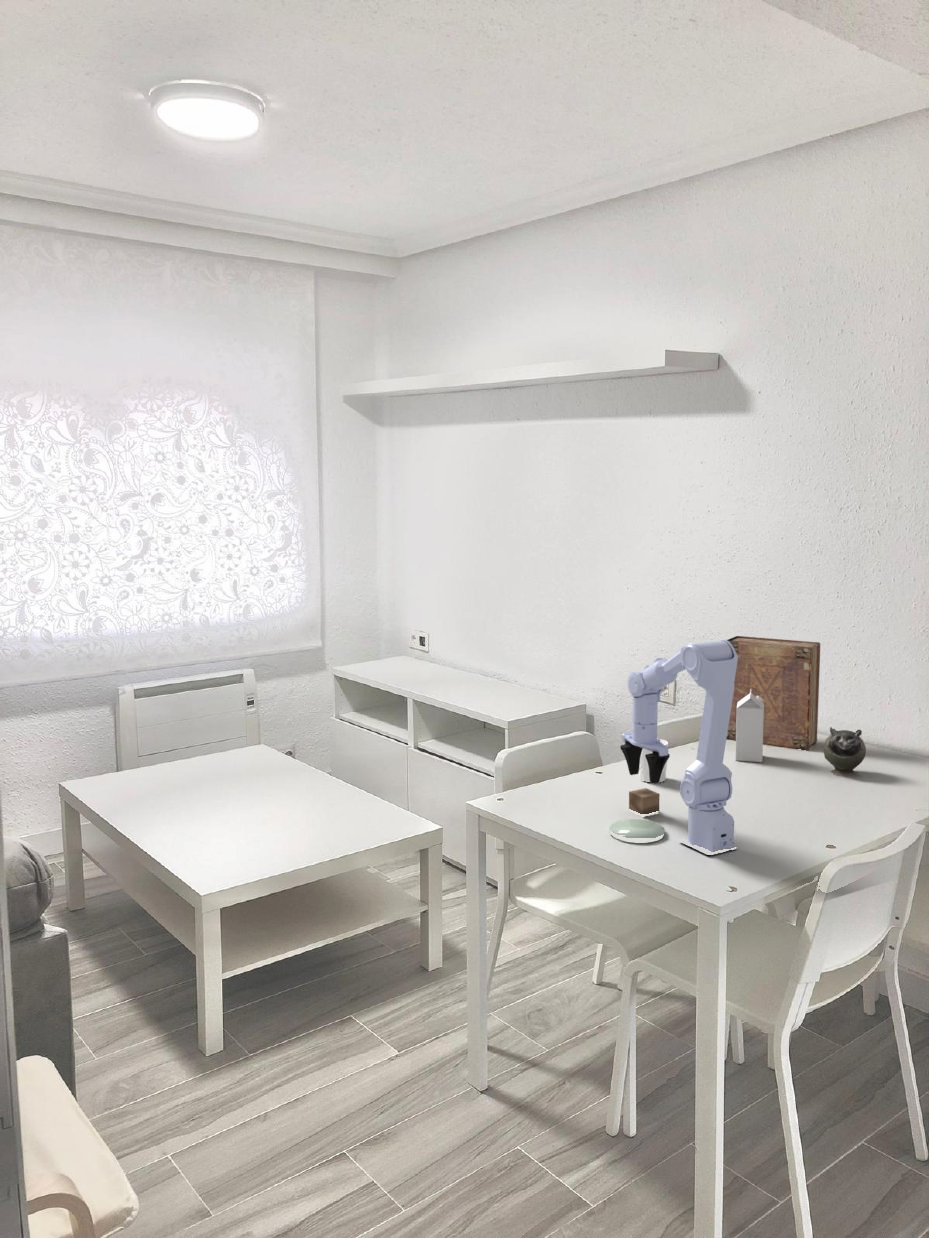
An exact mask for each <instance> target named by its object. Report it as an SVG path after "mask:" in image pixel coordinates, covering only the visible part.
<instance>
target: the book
mask: <svg viewBox="0 0 929 1238" xmlns="http://www.w3.org/2000/svg"><path fill="white" fill-rule="evenodd" d="M726 640H727V641H729V642H730V643H731V644H732V646H733V647H734V649H735V651H736V653H737V655H738V661H737V668H736V674H735V681H734V693H733V700H732V706H731V713H730V719H729V726H728V732H727V738H726V740H733V741H736V718H737V703H738V702H739V701H740V700H741V699H743V698H744V697H745V696H747V695H748V694H749V693H750V689H751V693H752V694H753V695H754V696H755V697H756V696H759V697H761V698H762V699H763V702H762V703H763V704H764V720H763V746H765V745H766V746H772V747H777V748H778V747H780V748H784V749H793V750H798V749H801V750H800V751H804V750H806V752H809V750H810V746H812V745H814V744H815V745H816V744H817V743H818V723H819V701H820V700H819V699H820V696H819V694H820V692H819V691H820V669H821V667H820V666H821V643H820V642H818V641H807V640H793V639H782V638H781V639H780V638H768V637H767V638H766V637H754V636H745V635H743V636H742V635H741V636H740V635H736V636H734V637H730V638H729V639H726ZM813 743H814V744H813Z"/></svg>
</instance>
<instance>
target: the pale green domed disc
mask: <svg viewBox="0 0 929 1238" xmlns="http://www.w3.org/2000/svg"><path fill="white" fill-rule="evenodd" d="M610 830H611V831H612V832H613V833H615V834H617V835H625V836H623V837H626V838H656V837H658V836H661V835H663V834H664V832H665V831H666V830H665V827H664V826H663V825H662V824H660V823H658V822H655V821H653V820H649V819H648V820H647V819H642V818H639V819H637V818H628V819H622V820H617V821H615V822H612V823H611V824H610V825H609V831H610Z"/></svg>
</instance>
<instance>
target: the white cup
mask: <svg viewBox="0 0 929 1238" xmlns="http://www.w3.org/2000/svg"><path fill="white" fill-rule="evenodd" d="M660 742H661V743H662V744H663V745H665V746H667V747H668V748H669V742H668V741H667V740H665V739H661V738H660ZM651 753H652V754H653V752H652V751H649V750H647V749H644V748H643V749H642V752H641V756H640V766H639V773H638V779H639V778H640V779H639V780H640V781H641V780H643V781H647V782H650V778H649V766H648V762H647V759H646V757H645V755H646V754H651ZM667 765H668V761H667V762H666V763H665V765H664V768H663V770H662V773H661V777H660V781H659V782H661V783H663V781H664V782H665V781H666V780H667ZM643 781H642V782H643ZM647 782H646V783H647Z"/></svg>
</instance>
